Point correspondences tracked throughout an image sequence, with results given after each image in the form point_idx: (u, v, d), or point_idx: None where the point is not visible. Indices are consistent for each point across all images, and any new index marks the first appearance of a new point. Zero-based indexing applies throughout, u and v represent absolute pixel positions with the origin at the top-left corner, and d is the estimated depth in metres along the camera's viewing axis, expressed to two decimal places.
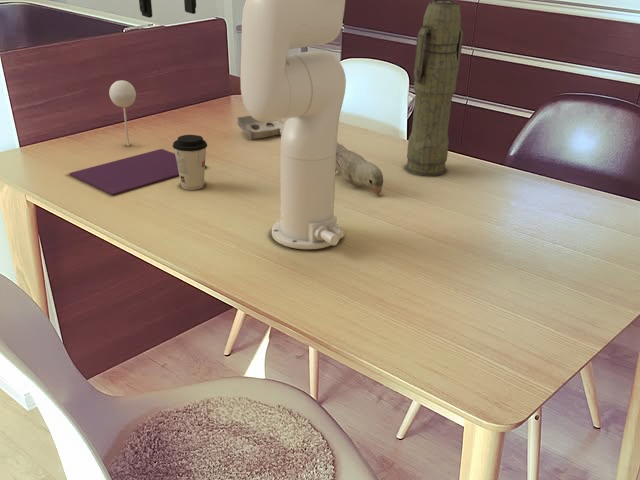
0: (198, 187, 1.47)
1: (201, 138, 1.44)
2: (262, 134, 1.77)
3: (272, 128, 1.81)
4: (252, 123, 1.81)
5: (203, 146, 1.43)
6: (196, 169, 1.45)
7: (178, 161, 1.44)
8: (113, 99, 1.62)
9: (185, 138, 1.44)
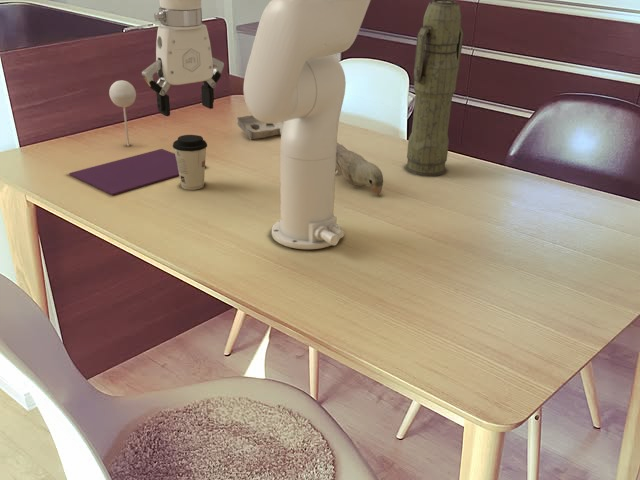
0: (198, 187, 1.47)
1: (201, 138, 1.44)
2: (262, 134, 1.77)
3: (272, 128, 1.81)
4: (252, 123, 1.81)
5: (203, 146, 1.43)
6: (196, 169, 1.45)
7: (178, 161, 1.44)
8: (113, 99, 1.62)
9: (185, 138, 1.44)
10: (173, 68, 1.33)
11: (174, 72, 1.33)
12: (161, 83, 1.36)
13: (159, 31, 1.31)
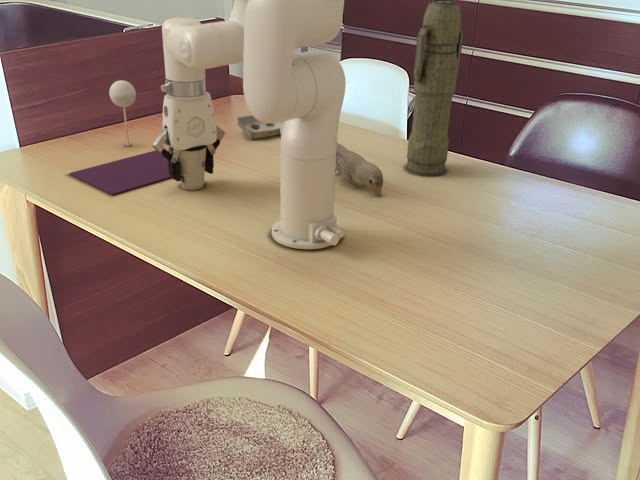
0: (198, 187, 1.47)
1: None
2: (262, 134, 1.77)
3: (272, 128, 1.81)
4: (252, 123, 1.81)
5: (203, 146, 1.43)
6: (196, 169, 1.45)
7: (178, 161, 1.44)
8: (113, 99, 1.62)
9: None
10: (179, 135, 1.39)
11: (180, 139, 1.39)
12: (171, 150, 1.43)
13: (165, 101, 1.37)
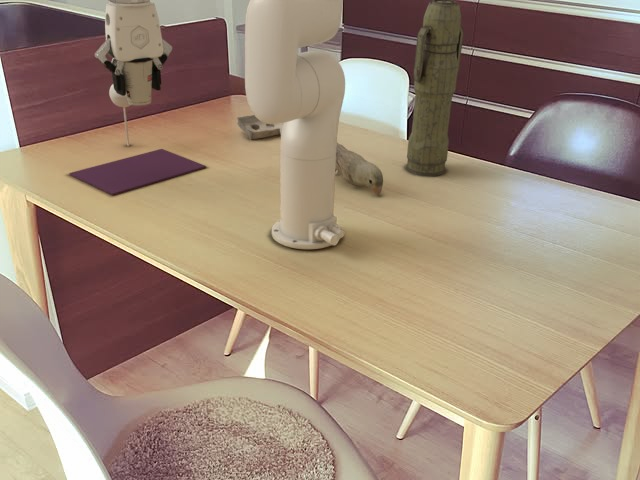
0: (144, 103, 1.44)
1: None
2: (262, 134, 1.77)
3: (272, 128, 1.81)
4: (252, 123, 1.81)
5: (148, 58, 1.40)
6: (142, 82, 1.41)
7: (123, 74, 1.41)
8: (113, 99, 1.62)
9: None
10: (121, 45, 1.36)
11: (123, 49, 1.36)
12: (115, 62, 1.40)
13: (107, 8, 1.34)
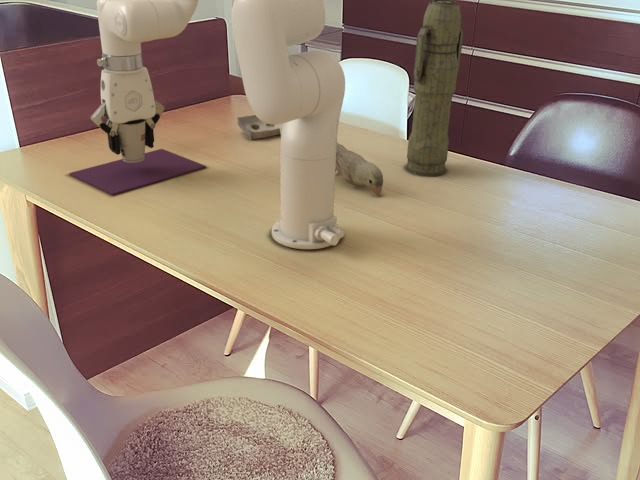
0: (138, 160, 1.52)
1: None
2: (262, 134, 1.77)
3: (272, 128, 1.81)
4: (252, 123, 1.81)
5: (141, 120, 1.47)
6: (135, 142, 1.49)
7: (117, 134, 1.49)
8: None
9: None
10: (116, 108, 1.43)
11: (117, 112, 1.44)
12: (110, 124, 1.48)
13: (102, 75, 1.42)
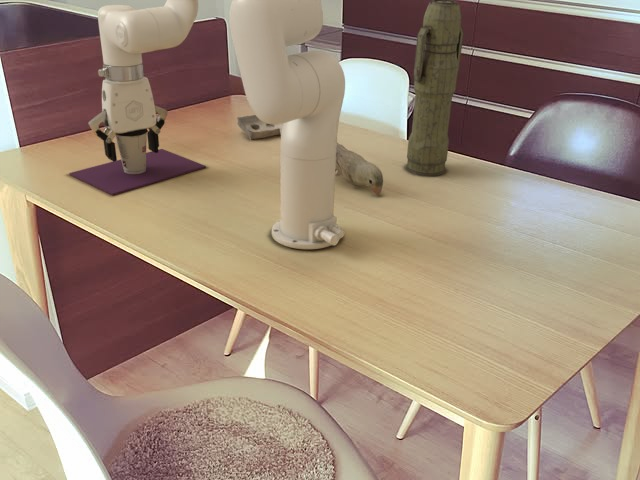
0: (139, 172, 1.53)
1: None
2: (262, 134, 1.77)
3: (272, 128, 1.81)
4: (252, 123, 1.81)
5: (143, 132, 1.49)
6: (137, 154, 1.50)
7: (119, 146, 1.50)
8: None
9: None
10: (117, 118, 1.44)
11: (118, 122, 1.45)
12: (108, 131, 1.48)
13: (103, 85, 1.43)
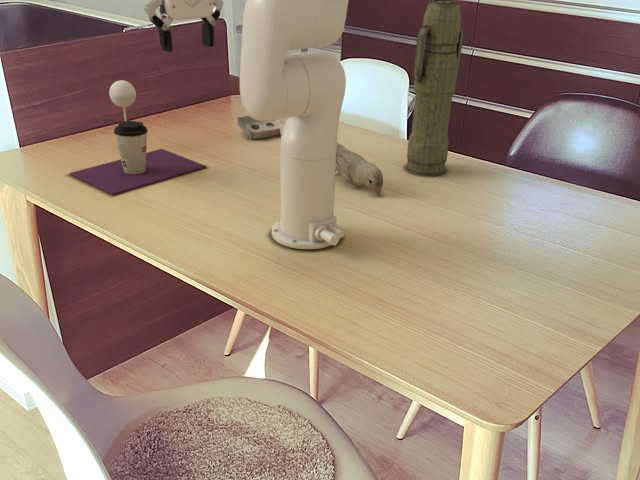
0: (139, 172, 1.53)
1: (141, 124, 1.49)
2: (262, 134, 1.77)
3: (272, 128, 1.81)
4: (252, 123, 1.81)
5: (143, 132, 1.49)
6: (137, 154, 1.50)
7: (119, 146, 1.50)
8: (113, 99, 1.62)
9: (125, 123, 1.49)
10: (175, 2, 1.37)
11: (176, 6, 1.38)
12: (163, 19, 1.41)
13: None
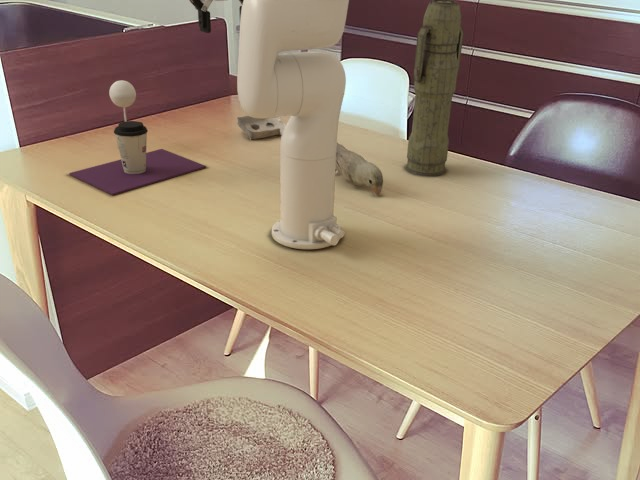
0: (139, 172, 1.53)
1: (141, 124, 1.49)
2: (262, 134, 1.77)
3: (272, 128, 1.81)
4: (252, 123, 1.81)
5: (143, 132, 1.49)
6: (137, 154, 1.50)
7: (119, 146, 1.50)
8: (113, 99, 1.62)
9: (125, 123, 1.49)
10: None
11: None
12: (202, 0, 1.42)
13: None
